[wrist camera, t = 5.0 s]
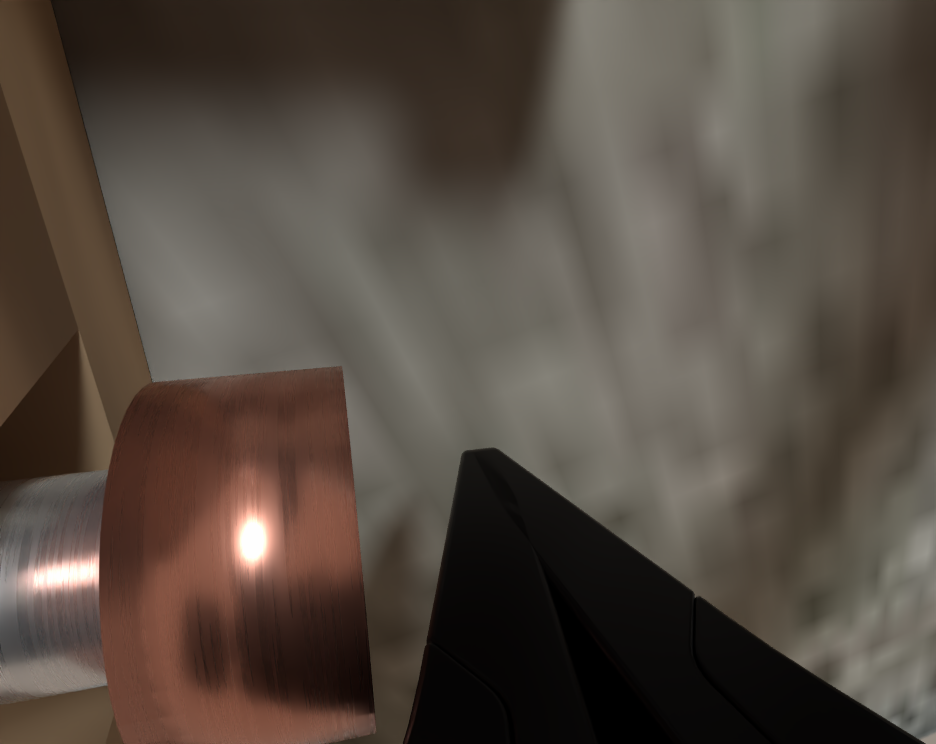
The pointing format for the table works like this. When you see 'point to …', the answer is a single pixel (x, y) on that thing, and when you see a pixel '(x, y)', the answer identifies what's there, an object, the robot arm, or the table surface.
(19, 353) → the mount
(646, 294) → the table surface
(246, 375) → the brick knob
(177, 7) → the table surface
